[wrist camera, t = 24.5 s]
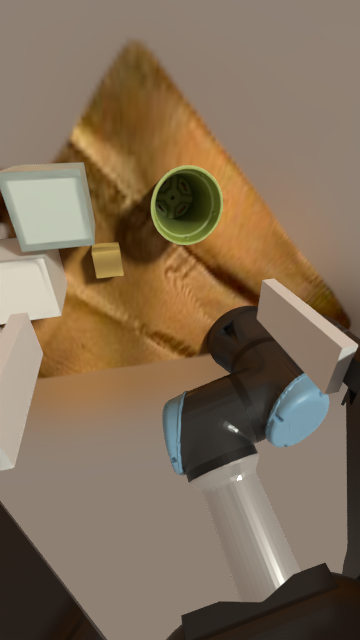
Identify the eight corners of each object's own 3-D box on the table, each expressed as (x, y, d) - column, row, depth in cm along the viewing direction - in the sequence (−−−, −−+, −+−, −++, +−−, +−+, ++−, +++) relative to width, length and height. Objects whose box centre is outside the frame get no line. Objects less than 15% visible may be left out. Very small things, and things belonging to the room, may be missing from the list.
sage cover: (83, 162, 37) (79, 168, 28) (95, 224, 41) (94, 244, 33) (18, 165, 35) (-6, 172, 27) (37, 228, 39) (22, 252, 31)
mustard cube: (121, 265, 46) (123, 275, 42) (96, 268, 45) (96, 278, 42) (118, 241, 43) (119, 249, 40) (92, 244, 43) (91, 252, 39)
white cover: (67, 283, 45) (61, 315, 37) (14, 290, 43) (-5, 325, 35) (54, 234, 40) (43, 258, 32) (-6, 239, 39) (-33, 266, 31)
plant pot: (175, 144, 38) (192, 146, 31) (213, 198, 43) (236, 209, 36) (128, 194, 40) (134, 206, 33) (170, 240, 45) (183, 259, 38)
